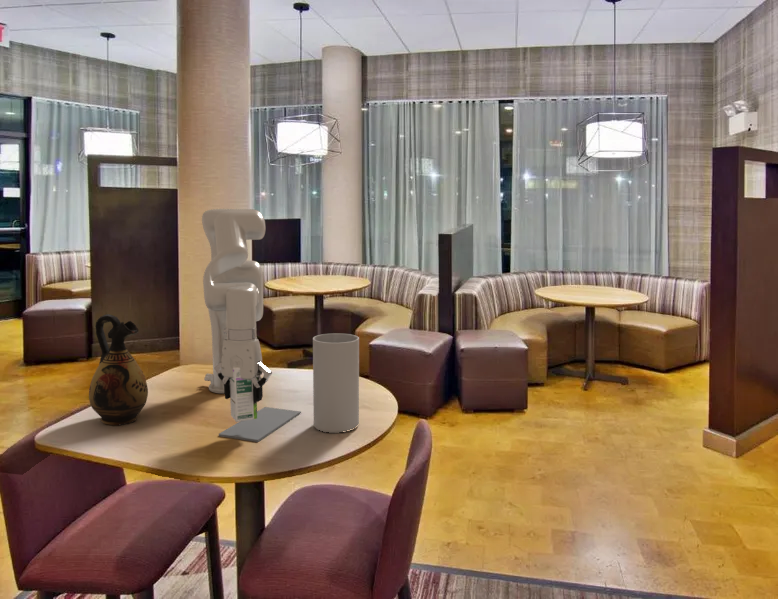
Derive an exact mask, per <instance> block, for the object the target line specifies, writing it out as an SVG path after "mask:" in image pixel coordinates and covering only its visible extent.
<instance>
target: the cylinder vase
mask: <svg viewBox="0 0 778 599" xmlns="http://www.w3.org/2000/svg"><path fill="white" fill-rule="evenodd" d="M312 380H313V381H312V384H313V385H312V386H313V387H312V388H313V390H312V392H313V393H312V394H313V395H312V398H313V405H312V406H313V426H314V428H315V429H316V430H318V431H319V430H320V431H319V432H322V431H323V433H326V432H329V433H328V434H339V433H338V432H343V431H347V430H350V429H353V428H355V427H356V426H357V425H358V424H360V337H359V336H357V335H354V334H351V333H338V332H337V333H334V332H333V333H323V334H318V335H315V336H313V337H312ZM358 426H359V425H358ZM358 426H357V427H358ZM355 429H356V428H355Z"/></svg>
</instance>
